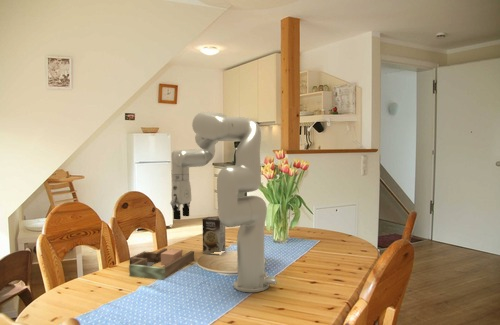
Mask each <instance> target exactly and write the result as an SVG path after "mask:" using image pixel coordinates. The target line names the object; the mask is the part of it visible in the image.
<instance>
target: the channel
mask: <svg viewBox="0 0 500 325" xmlns="http://www.w3.org/2000/svg"><path fill="white" fill-rule="evenodd" d="M167 250H168V248H162V249H161V250H159V251H156V252H153V251H146V250H145V251H142V252H139V253H137V254H135V255H133V256H131V257H129V265H128V270H129V272H128V273H129V276H130V277H140V278H145V279H146V278H148V279H155V280H157V279H158V280H165V279H167V278H168V277H170V276H171V275H174V274H175V273H177V272H178V271H179V270H181V269H182V268H184V267H186V266H189V264H190V263H193V262H194V261H195V250H190V251H188V252H187V253H185V254H182V256H181V257H179V258H177V259H176V260H174V261H172V262H170V263H169V264H167V265H162V267H161V266H153V265H152V266H147V262H152V263H155V264H159V262H160V263H161V253H163V252H165V251H167Z"/></svg>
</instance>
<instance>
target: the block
mask: <svg viewBox="0 0 500 325" xmlns="http://www.w3.org/2000/svg"><path fill="white" fill-rule="evenodd" d="M181 256H183V249H176V248H169V249H167V251H165V252H163V253H161V261H160V265H161V266H165V265H167V264H169V263H170V262H172V261H174V260H176V259H177V258H179V257H181Z"/></svg>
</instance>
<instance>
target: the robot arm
mask: <svg viewBox="0 0 500 325" xmlns="http://www.w3.org/2000/svg"><path fill="white" fill-rule="evenodd" d="M191 126H192V131H194V133H195V136H194V140H195V143H196V145H197V146H198V147H199V148H200V149H196V148H195V149H180V150H179V149H178V150H172V152H171V182H172V184H171V200H170V203H169V204H170V205H171V208H172V211H173V214H172V215H173V220H177V221H178V220H181V215H182V216H183V217H189V216H190V207H191V205H190V204H191V201H192V186H191V182H190V168H197V167H204V166H206V165H209V163H210V162H211V161H212V160H213V158H214V157H215V153H216V145H217V143H218V142H239V144H238V145H237V147H236V151H235V165H227V166H224V167H222V168H221V169H220V170H219V172H218V174H217V178H216V199H217V200H216V201H217V213H218V218H219V219H220V221H221V223H222V224H223V225H224V226H225V228H235V227H238V230H237V235H236V245H237V246H236V252H237V255H236V256H237V262H236V263H237V279H236V280H234V281H233V288H234V289H235V290H237V291H239V292H242V293H258V292H263V291H265V290H267V289H268V288H269V287H270V285H272V286H273V285H274V286H275V285H277V282H278V281H277V278H276V277H275V276H269V275H268V271H266V269H265V266H266V265H265V264H266V263H265V261H266V260H265V257H266V256H265V253H266V252H265V228H266V220H267V213H268V207H267V203H266V201H265V200H264V199H263V198H262V197H261V196H258V195H245V196H239V195H238V194H243V193H245V194H246V193H251V192H256V191H258V190H259V189H260V187H261V184H262V171H261V168H262V167H261V143H262V132H261V127H260V125H259V124H258V123H257V121H255V120H254V119H252V118H249V117H241V116H228V115H226V114H225V113H221V112H210V111H207V112H206V111H201V112H198V113H197V114H196V115H195V116H194V117H193V120H192V123H191ZM181 205H182V206H183V207H182V214H181V209H180V208H181Z"/></svg>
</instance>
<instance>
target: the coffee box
mask: <svg viewBox="0 0 500 325" xmlns="http://www.w3.org/2000/svg"><path fill="white" fill-rule="evenodd" d="M221 251H226V226H224V225H223V224H222V223H221V221H220V219H219V217H216V216H207V217H203V218H202V254H207V255H210V254H209V253H214V252H221ZM226 252H227V251H226Z"/></svg>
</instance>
